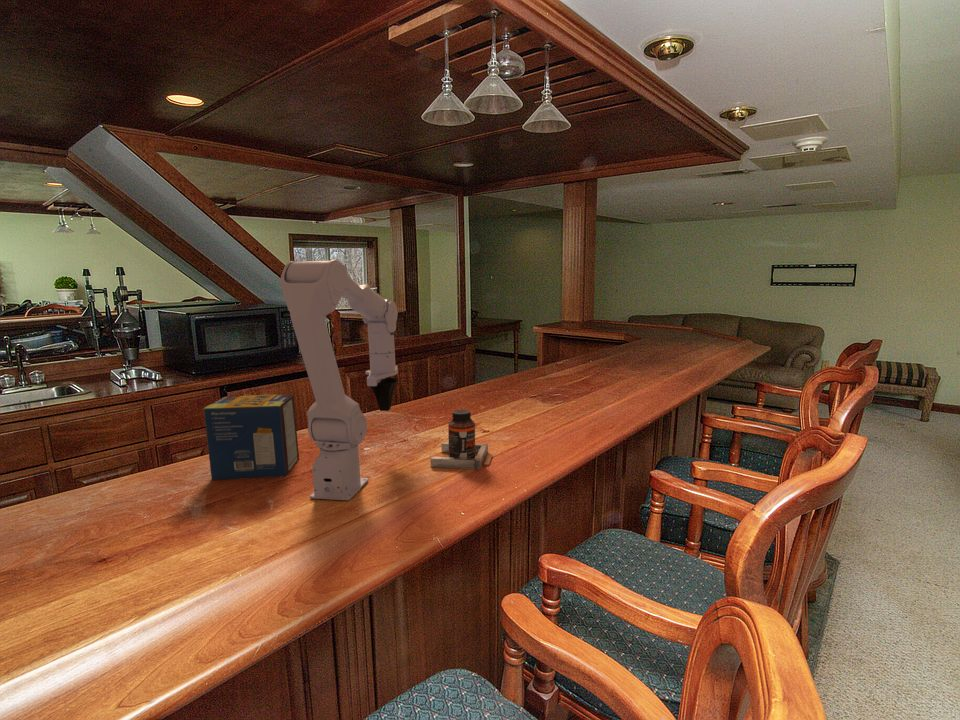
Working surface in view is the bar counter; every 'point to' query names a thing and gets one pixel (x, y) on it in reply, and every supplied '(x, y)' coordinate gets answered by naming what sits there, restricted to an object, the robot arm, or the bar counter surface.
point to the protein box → (251, 436)
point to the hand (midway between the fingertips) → (385, 410)
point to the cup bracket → (463, 462)
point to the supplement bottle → (461, 435)
